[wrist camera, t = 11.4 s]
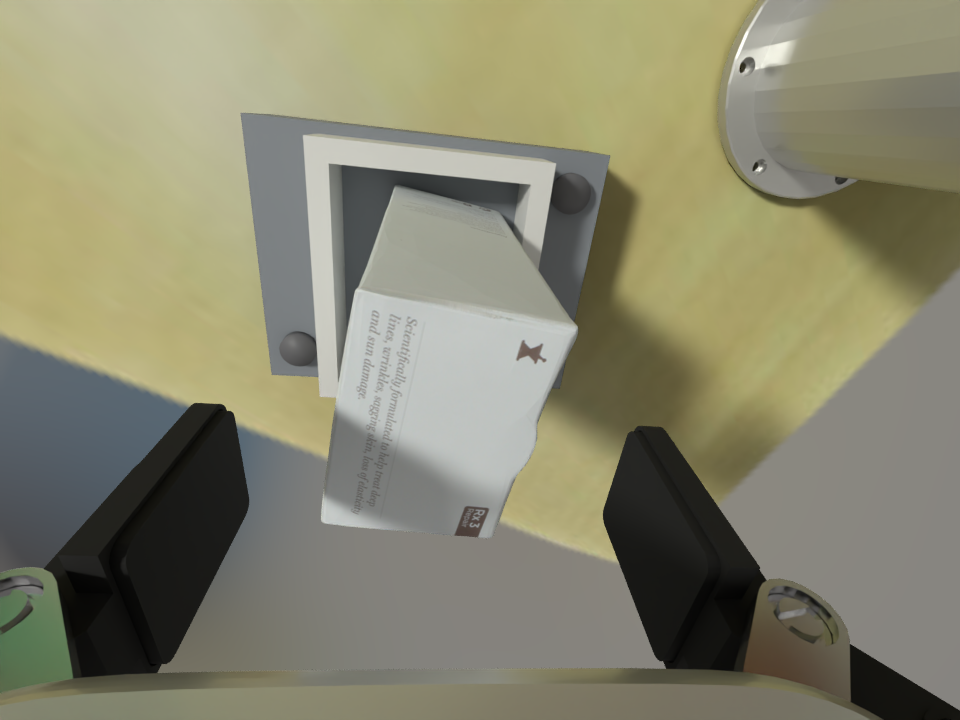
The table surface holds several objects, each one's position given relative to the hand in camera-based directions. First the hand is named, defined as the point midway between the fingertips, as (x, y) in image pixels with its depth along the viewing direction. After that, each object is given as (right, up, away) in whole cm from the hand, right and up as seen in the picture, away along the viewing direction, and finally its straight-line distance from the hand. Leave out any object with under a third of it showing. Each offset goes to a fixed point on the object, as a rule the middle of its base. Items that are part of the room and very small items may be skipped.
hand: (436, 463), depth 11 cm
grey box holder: (-2, +9, +18) cm, 20 cm away
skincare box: (-1, +7, +15) cm, 16 cm away
